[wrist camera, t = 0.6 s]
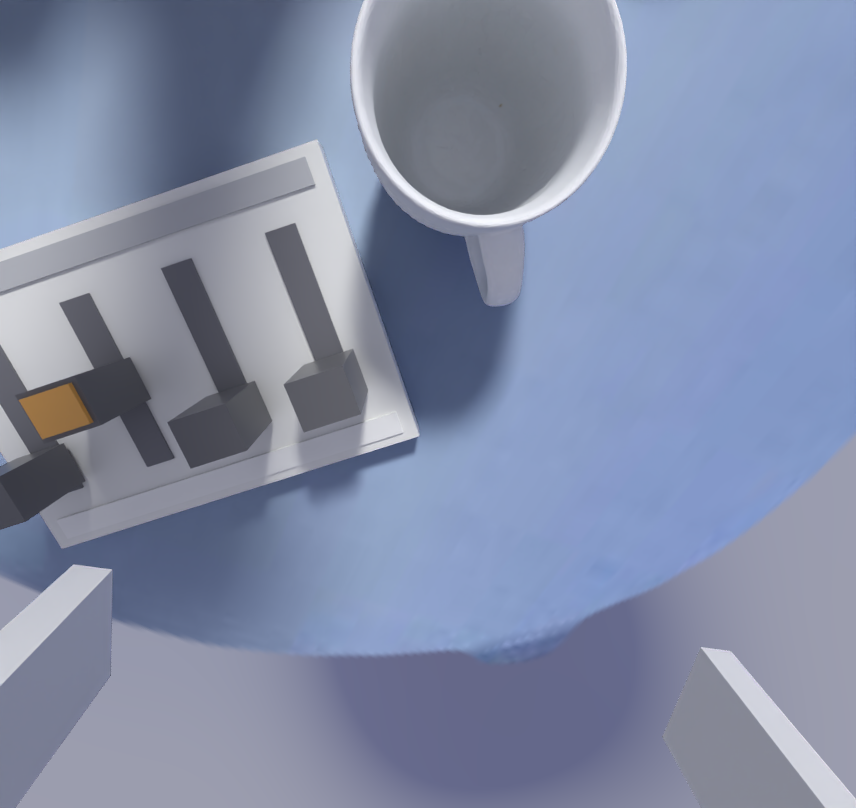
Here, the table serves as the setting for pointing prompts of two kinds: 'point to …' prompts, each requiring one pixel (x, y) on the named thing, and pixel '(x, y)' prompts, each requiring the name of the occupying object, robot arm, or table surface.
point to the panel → (196, 335)
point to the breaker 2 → (35, 483)
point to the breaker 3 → (221, 424)
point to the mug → (487, 114)
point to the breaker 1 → (84, 400)
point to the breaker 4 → (327, 390)
